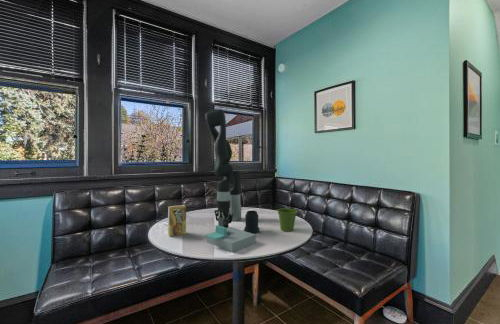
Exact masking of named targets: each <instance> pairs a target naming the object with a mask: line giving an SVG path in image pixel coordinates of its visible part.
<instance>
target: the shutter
mask: <svg viewBox="0 0 500 324" xmlns="http://www.w3.org/2000/svg"><path fill="white" fill-rule="evenodd" d="M215 231H216V232H215ZM215 231H213V232H214V233H212V232H210V233H211V234H209V233H207V234H208V235H207V234H206V235H205V237H206V238H207V237H208V238H211V239H213V240H218V239H221V238H224V237H227V228H225V227H222V226H219V225H218V224H217V225H215Z"/></svg>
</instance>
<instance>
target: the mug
mask: <svg viewBox="0 0 500 324" xmlns="http://www.w3.org/2000/svg"><path fill="white" fill-rule="evenodd" d="M244 221H245V226H244V228H243V231H246V232H249V233H252V234H258V233H259V234H260V232H261V231H260V227H259V214H258V212H257V210H247V211H246V213H245V217H244Z"/></svg>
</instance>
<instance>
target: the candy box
mask: <svg viewBox="0 0 500 324" xmlns="http://www.w3.org/2000/svg"><path fill="white" fill-rule="evenodd" d="M167 209H168V210H167V211H168V212H167V215H168V216H167V219H168V221H167V234H168V236H169V237H174V236H175V237H176V236H180V235H181V236H182V235H186V234H187V206H186V205H185V204H181V205H171V206H168V207H167Z"/></svg>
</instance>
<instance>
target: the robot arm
mask: <svg viewBox="0 0 500 324" xmlns="http://www.w3.org/2000/svg"><path fill="white" fill-rule="evenodd" d="M204 117H205V122H206V124H207V127H208V130H209V132H210V134H211V137H212V139H213V144H214V155H215V159H214V160H215V161H214V166H213V167H214V169H213V172H214V174H215V175H216V177H223V178H222V180H219V181H217V184H216V185H217V187H216V188H217V191H216V209H215V210H214V217H215V222H218V218H220V217H223V219H224V227H225V228H229V227H228V224H232V222H237V221H240V220H241V219H242V204H241V193H242V192H241V191H242V173H241V170H234V167H233V166H232V164H231V163H230V162H231V159H232V156H233V151H232V147H231V143H230V142H229V140H227V122H226V120H227V119H226V115H225V112H224V111H223V109H216V110H211V111H207V112H206V113H205V114H204ZM216 127H220V129H219V131H218V130H217V128H216ZM231 185H233V186H232V187H231ZM226 217H227V218H226ZM226 220H227V222H226Z"/></svg>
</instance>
